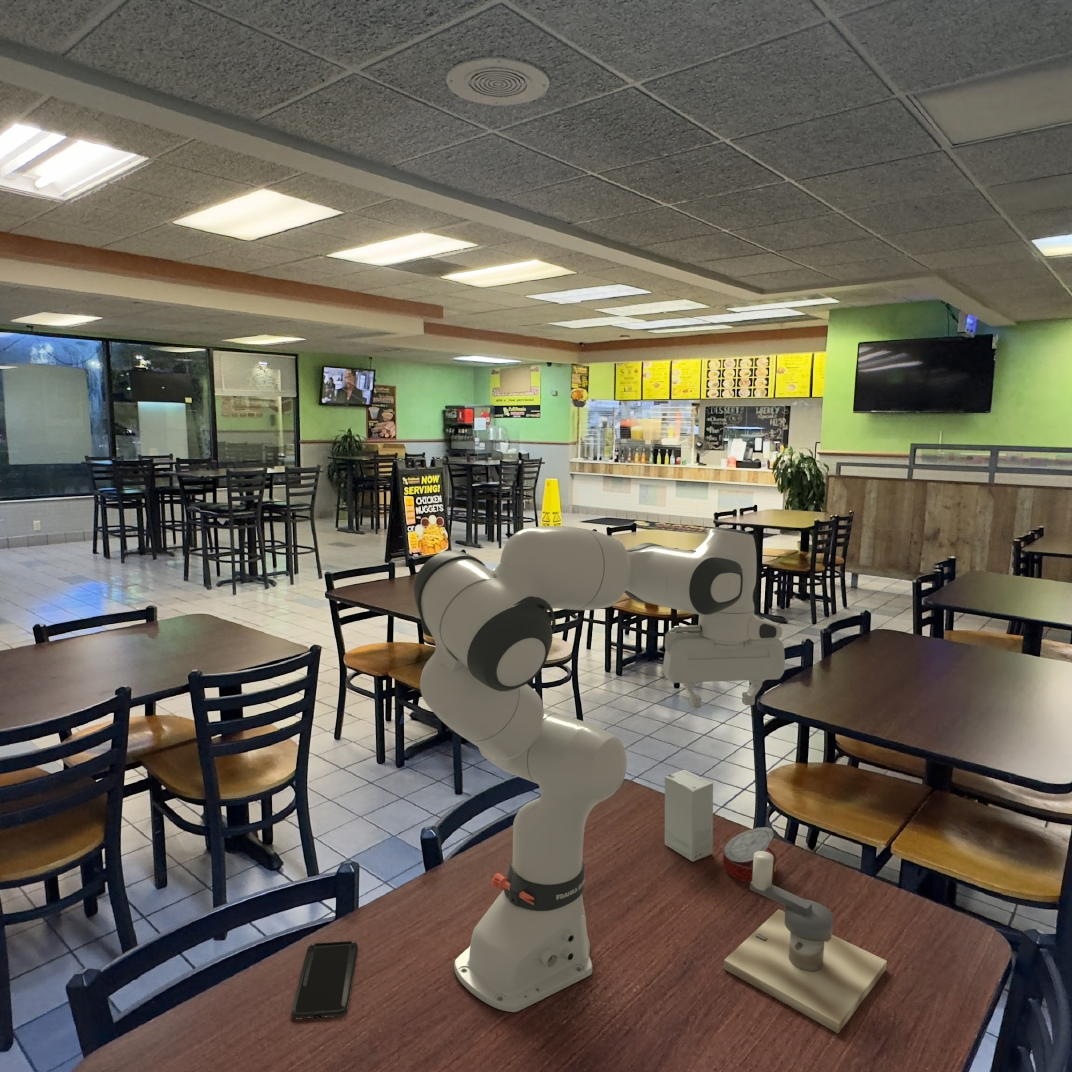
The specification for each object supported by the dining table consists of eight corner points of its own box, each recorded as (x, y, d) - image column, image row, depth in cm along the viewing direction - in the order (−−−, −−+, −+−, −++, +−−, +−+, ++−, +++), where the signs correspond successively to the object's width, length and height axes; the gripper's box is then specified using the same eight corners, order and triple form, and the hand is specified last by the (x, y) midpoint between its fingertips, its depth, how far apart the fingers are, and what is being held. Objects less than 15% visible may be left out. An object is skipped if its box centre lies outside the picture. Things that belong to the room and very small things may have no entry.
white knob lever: (820, 947, 113) (824, 896, 112) (741, 908, 122) (744, 860, 121) (840, 926, 118) (843, 877, 117) (762, 890, 127) (765, 844, 125)
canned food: (759, 907, 142) (752, 875, 137) (715, 877, 149) (707, 846, 144) (793, 863, 147) (787, 830, 142) (748, 836, 154) (741, 804, 149)
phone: (358, 940, 122) (346, 1010, 108) (358, 947, 123) (347, 1018, 108) (307, 943, 121) (289, 1014, 107) (308, 950, 122) (289, 1022, 107)
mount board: (838, 1033, 106) (841, 988, 105) (723, 968, 118) (726, 927, 117) (886, 969, 119) (889, 928, 118) (778, 917, 131) (780, 879, 130)
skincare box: (713, 854, 150) (716, 783, 148) (691, 863, 147) (694, 791, 145) (682, 835, 157) (686, 767, 155) (661, 843, 154) (664, 774, 152)
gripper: (671, 631, 121) (668, 714, 123) (791, 628, 124) (786, 709, 126) (659, 621, 127) (656, 701, 129) (773, 618, 131) (769, 696, 132)
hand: (721, 705), depth 128 cm, fingers open, 8 cm apart
